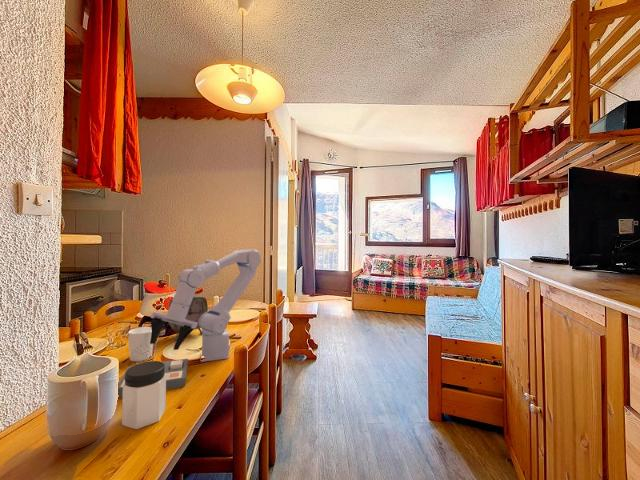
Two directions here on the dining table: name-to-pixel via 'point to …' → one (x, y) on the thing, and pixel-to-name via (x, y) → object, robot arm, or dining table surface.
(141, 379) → the jar
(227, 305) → the robot arm
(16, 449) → the dining table surface
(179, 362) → the button
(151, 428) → the dining table surface
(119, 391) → the button board
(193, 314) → the tabletop clock
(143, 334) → the white cup
